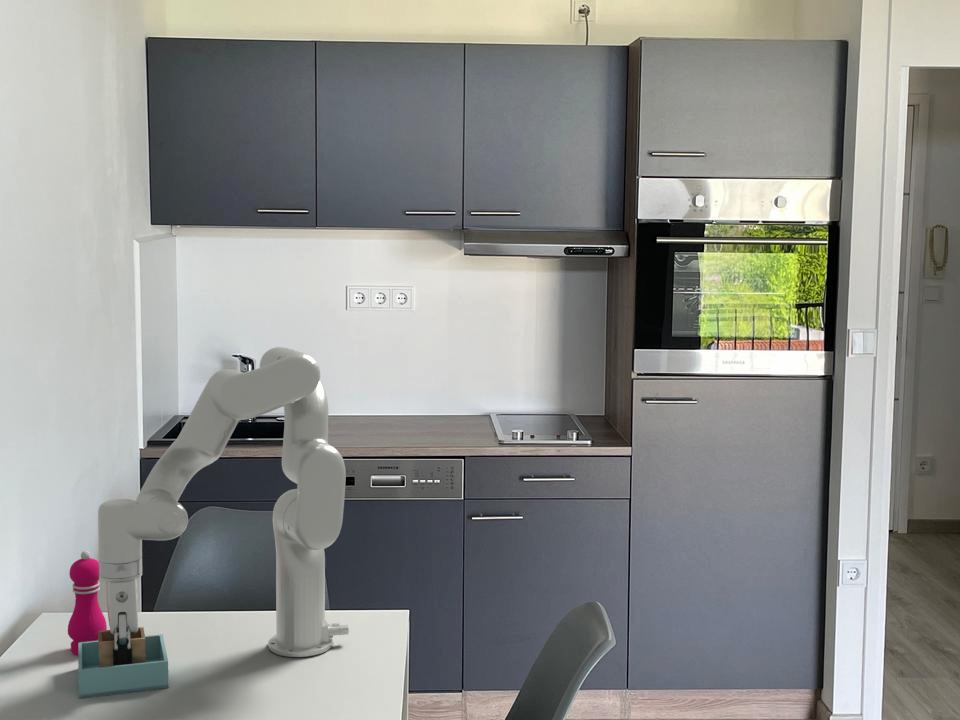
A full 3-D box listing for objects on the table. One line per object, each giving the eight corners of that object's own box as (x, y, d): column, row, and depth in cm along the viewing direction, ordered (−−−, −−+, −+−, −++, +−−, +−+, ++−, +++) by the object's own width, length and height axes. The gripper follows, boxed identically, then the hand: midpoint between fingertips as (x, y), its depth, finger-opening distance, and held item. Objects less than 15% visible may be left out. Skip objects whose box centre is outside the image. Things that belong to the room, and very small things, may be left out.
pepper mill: (94, 658, 214) (92, 557, 212) (60, 655, 215) (57, 554, 213) (114, 645, 221) (112, 547, 219) (81, 642, 222) (78, 544, 220)
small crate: (143, 657, 209) (143, 626, 208) (145, 670, 203) (145, 638, 203) (98, 662, 206) (98, 631, 206) (99, 675, 200) (98, 643, 200)
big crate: (163, 659, 214) (162, 634, 214) (168, 687, 201) (168, 661, 200) (79, 668, 209) (78, 642, 209) (79, 698, 196) (78, 671, 195)
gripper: (144, 580, 196) (145, 678, 198) (139, 553, 212) (140, 644, 214) (99, 584, 193) (101, 683, 195) (98, 556, 210) (99, 648, 212)
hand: (122, 661), depth 205 cm, fingers closed on small crate, 6 cm apart
